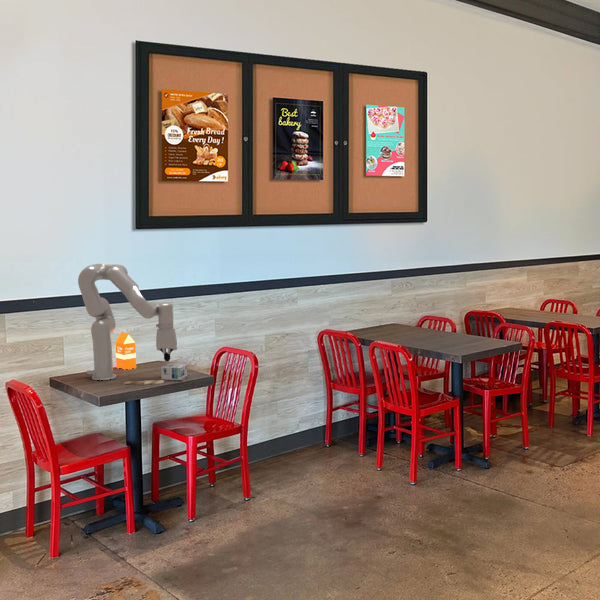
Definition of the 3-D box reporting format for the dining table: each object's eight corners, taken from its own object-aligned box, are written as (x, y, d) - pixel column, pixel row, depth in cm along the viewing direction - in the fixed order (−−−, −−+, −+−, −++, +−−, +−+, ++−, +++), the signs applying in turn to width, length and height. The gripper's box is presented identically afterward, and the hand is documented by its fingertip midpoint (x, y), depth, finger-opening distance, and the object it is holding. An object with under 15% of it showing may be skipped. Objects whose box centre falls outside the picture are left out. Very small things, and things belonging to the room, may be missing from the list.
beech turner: (123, 385, 381) (123, 383, 381) (123, 382, 387) (123, 381, 387) (163, 383, 386) (163, 381, 385) (163, 380, 391) (163, 379, 391)
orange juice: (124, 370, 417) (122, 334, 415) (116, 367, 424) (114, 332, 421) (136, 368, 423) (135, 332, 420) (128, 365, 429) (127, 330, 427)
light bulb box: (160, 379, 391) (180, 380, 390) (160, 366, 391) (180, 367, 389) (168, 375, 402) (187, 376, 400) (167, 362, 401) (187, 363, 399)
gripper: (150, 327, 390) (151, 362, 393) (178, 327, 389) (180, 362, 392) (153, 325, 398) (154, 359, 400) (181, 325, 397) (182, 359, 399)
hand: (167, 361), depth 396 cm, fingers closed
